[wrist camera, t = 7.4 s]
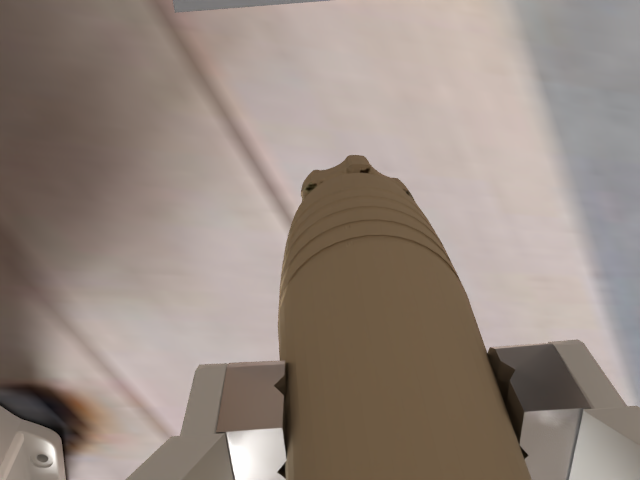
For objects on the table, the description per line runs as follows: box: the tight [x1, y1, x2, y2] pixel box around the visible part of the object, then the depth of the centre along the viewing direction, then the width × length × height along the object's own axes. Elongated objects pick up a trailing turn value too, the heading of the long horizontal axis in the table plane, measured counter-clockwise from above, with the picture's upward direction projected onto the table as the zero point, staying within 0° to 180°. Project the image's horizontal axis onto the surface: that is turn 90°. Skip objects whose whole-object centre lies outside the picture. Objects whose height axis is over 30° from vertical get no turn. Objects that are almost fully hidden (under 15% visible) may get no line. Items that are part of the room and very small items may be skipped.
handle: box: [278, 155, 532, 480], centre depth 11 cm, size 5×6×15 cm
